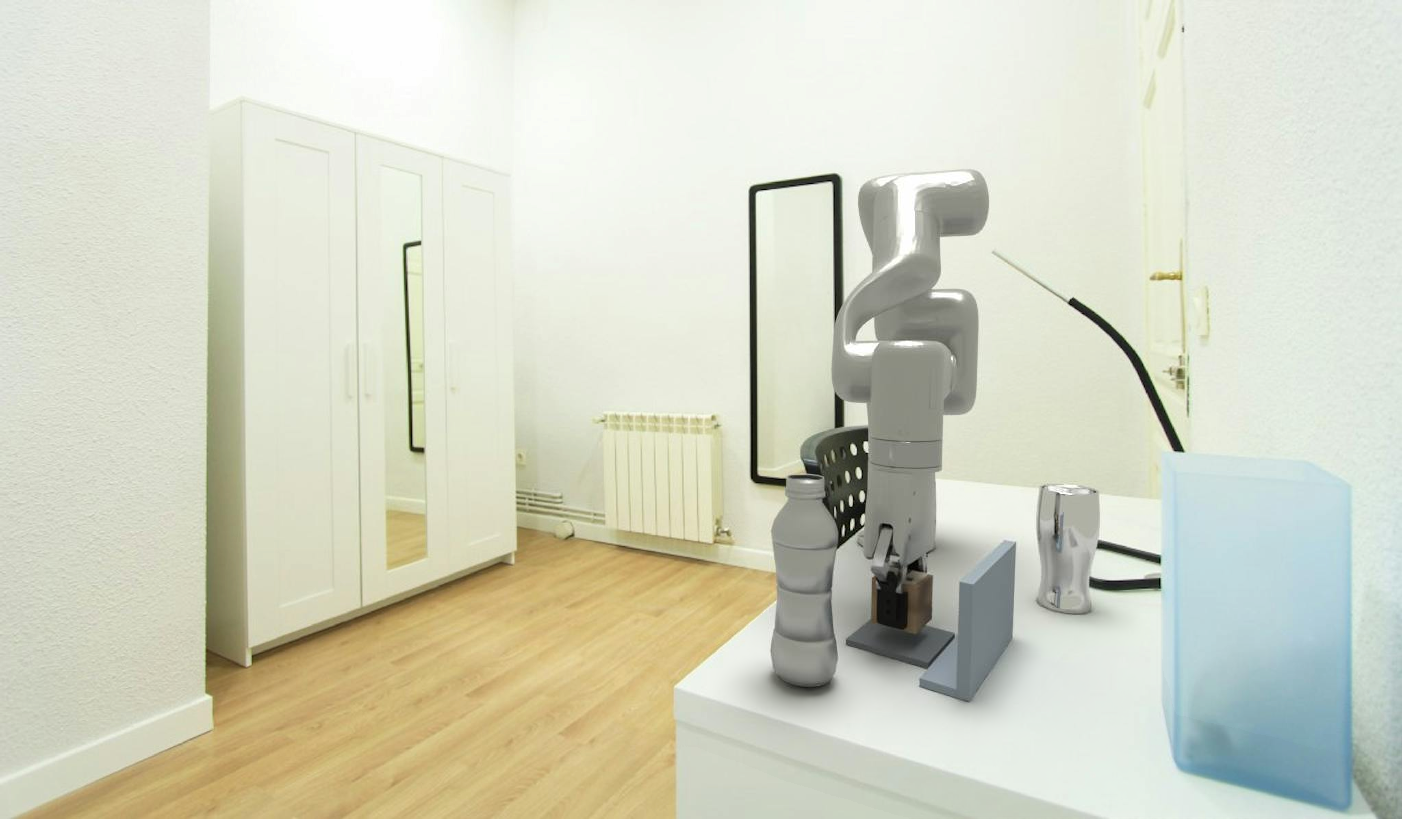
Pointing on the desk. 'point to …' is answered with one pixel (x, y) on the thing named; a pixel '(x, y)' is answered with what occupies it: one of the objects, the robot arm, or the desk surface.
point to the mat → (902, 643)
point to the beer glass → (1066, 545)
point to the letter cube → (911, 599)
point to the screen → (978, 626)
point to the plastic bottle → (804, 585)
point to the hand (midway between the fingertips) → (901, 615)
